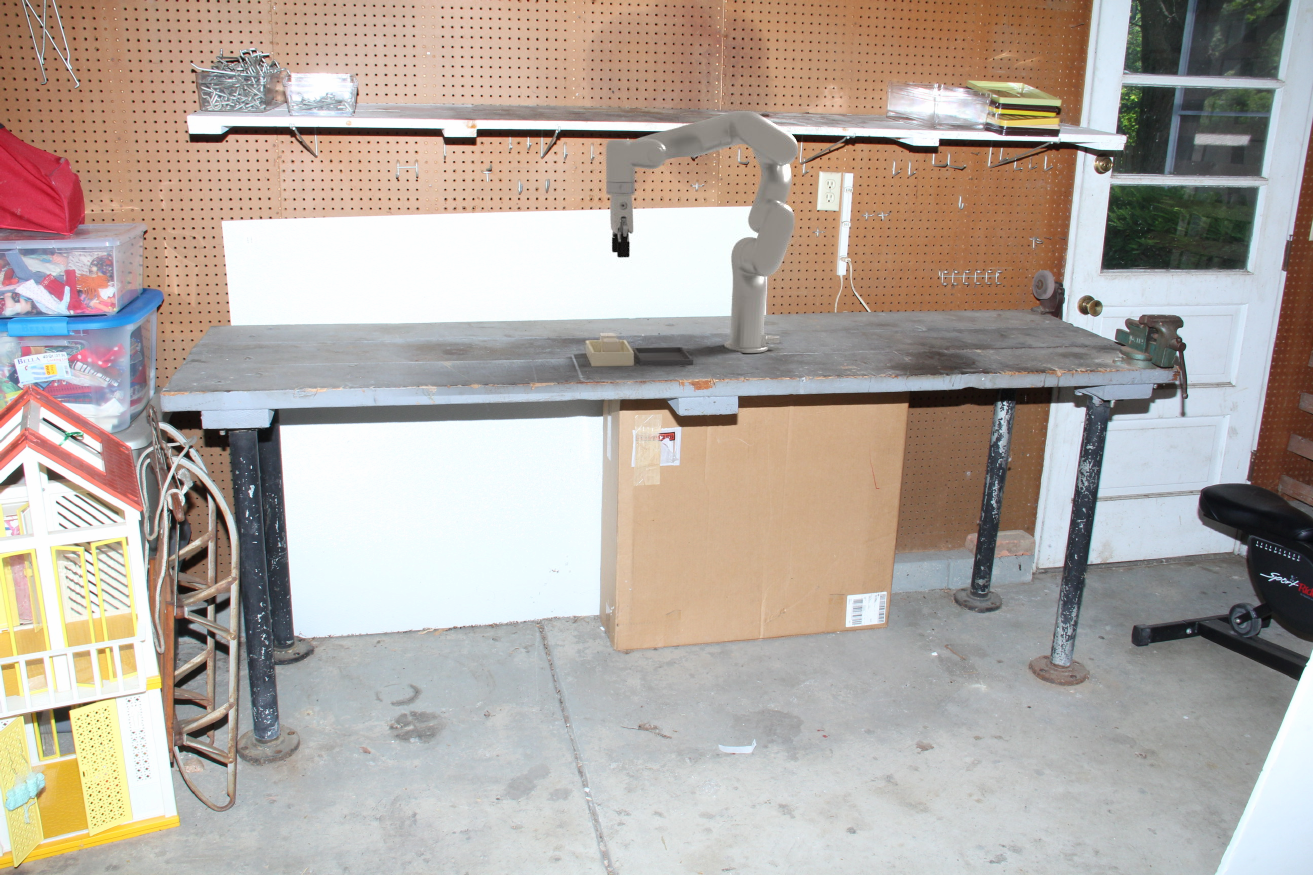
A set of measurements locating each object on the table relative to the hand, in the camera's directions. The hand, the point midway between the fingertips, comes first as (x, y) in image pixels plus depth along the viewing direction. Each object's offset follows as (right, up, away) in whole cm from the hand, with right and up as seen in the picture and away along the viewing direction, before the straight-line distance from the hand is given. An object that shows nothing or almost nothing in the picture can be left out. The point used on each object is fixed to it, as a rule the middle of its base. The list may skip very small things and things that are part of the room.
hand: (620, 254), depth 262 cm
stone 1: (-4, -27, +5) cm, 27 cm away
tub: (-3, -28, +2) cm, 28 cm away
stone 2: (-2, -29, -1) cm, 29 cm away
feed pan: (+11, -28, +5) cm, 30 cm away
